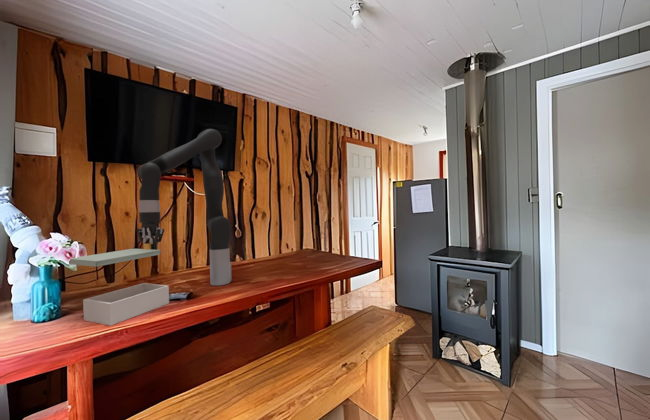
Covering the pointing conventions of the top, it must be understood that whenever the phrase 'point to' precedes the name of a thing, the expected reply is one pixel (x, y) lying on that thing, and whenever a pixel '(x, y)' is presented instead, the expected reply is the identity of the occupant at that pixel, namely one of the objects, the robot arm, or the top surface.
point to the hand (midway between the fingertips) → (150, 252)
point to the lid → (115, 256)
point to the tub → (125, 303)
